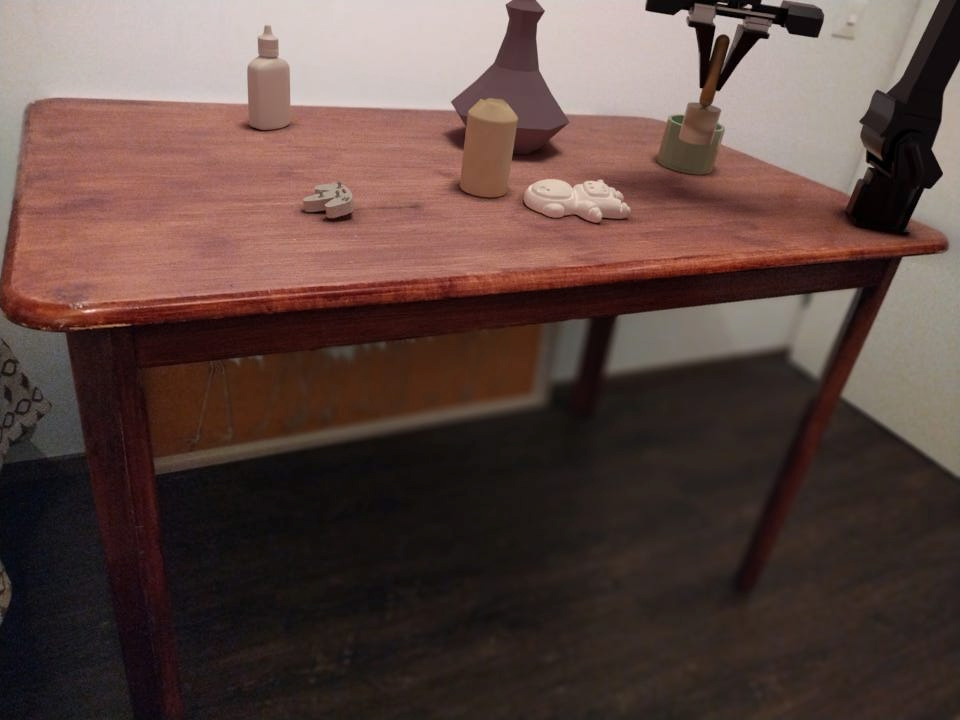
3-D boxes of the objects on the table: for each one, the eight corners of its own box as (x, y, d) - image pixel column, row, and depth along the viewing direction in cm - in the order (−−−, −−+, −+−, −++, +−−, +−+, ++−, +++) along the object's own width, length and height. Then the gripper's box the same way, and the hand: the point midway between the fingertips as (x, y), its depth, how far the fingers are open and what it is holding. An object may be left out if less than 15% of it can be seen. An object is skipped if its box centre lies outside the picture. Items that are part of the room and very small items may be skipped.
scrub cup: (710, 162, 107) (722, 121, 104) (713, 178, 101) (727, 134, 97) (657, 152, 108) (667, 111, 105) (656, 167, 101) (668, 123, 98)
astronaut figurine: (632, 228, 81) (638, 202, 79) (523, 214, 80) (528, 187, 78) (621, 200, 88) (627, 176, 86) (522, 187, 87) (526, 162, 86)
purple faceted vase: (559, 171, 95) (592, 0, 84) (435, 149, 96) (451, -22, 85) (567, 138, 108) (595, -13, 98) (458, 119, 109) (474, -32, 99)
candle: (502, 201, 82) (515, 111, 77) (454, 192, 83) (464, 101, 78) (510, 186, 87) (523, 100, 82) (465, 177, 88) (475, 91, 82)
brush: (710, 139, 91) (740, 34, 84) (712, 147, 87) (744, 39, 81) (677, 133, 91) (705, 29, 85) (679, 141, 88) (708, 33, 81)
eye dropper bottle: (243, 121, 95) (239, 20, 89) (286, 120, 98) (285, 22, 91) (252, 131, 92) (248, 28, 86) (296, 130, 95) (296, 30, 88)
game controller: (292, 204, 74) (292, 179, 73) (385, 189, 81) (387, 166, 80) (323, 224, 71) (323, 198, 69) (417, 207, 78) (419, 183, 77)
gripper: (826, -53, 84) (779, 89, 92) (662, -78, 85) (631, 64, 94) (849, -49, 74) (794, 108, 83) (664, -77, 76) (629, 80, 84)
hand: (709, 89), depth 86 cm, fingers closed on brush
